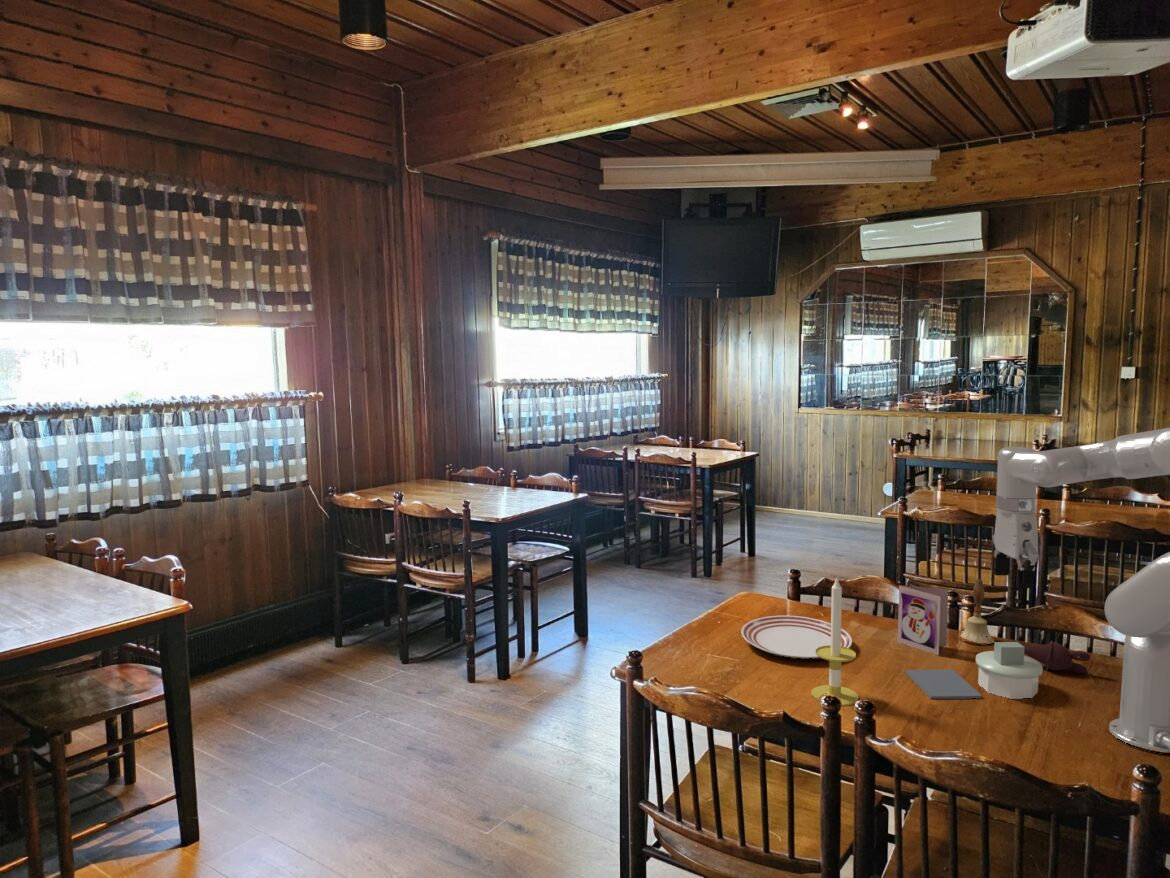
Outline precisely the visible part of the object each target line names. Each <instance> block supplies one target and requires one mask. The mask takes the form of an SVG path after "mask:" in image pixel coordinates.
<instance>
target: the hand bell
mask: <svg viewBox="0 0 1170 878" xmlns="http://www.w3.org/2000/svg"><path fill="white" fill-rule="evenodd" d="M972 589H973V590H972V596H973V601H974V605H975V604H976V607H975V606H974V609H973V610H974V611H973V616H971V617H968V618H967V621H966V626H965V629H964V630H963V632H961V633H960V634H961V635H960V634H959V635H960V636H961V637H962V638H964V639H967V640H969V641H973V642H977V643H987V644H991V643H995V639H994V638H993V637H992V635H991V634H990V632H989V629H988V621H987V620H986V619H985V618H983V617H982V602H983V601H984V597H985V587H984V584H983V579H979V578H978V579H976V581H975V584H974V586H973V588H972ZM981 635H982V636H981ZM986 636H988V637H986ZM992 638H993V639H992Z"/></svg>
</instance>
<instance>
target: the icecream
mask: <svg viewBox="0 0 1170 878" xmlns="http://www.w3.org/2000/svg"><path fill="white" fill-rule="evenodd" d="M1023 646H1024V647H1025V648H1024V655H1025V656H1027V657H1030V658H1032V659H1034V660H1036V661H1038V662H1039V663H1040V664H1041V665H1044V666H1045V670H1046V671H1049V670H1051V671H1057V672H1058V671H1063V670H1066V669H1069V670H1070V671H1072V672H1074V673H1077V674H1080V673H1082V674H1081V675H1085V674H1087V673H1088V669H1087V666H1084V665H1083V664H1080V663H1076V662H1074V661H1073V660H1075V661H1077V662H1088V661H1090V660H1091V655H1090V654H1089V652H1087V651H1082V650H1078V651H1069V650H1070V649H1068V648H1067V647H1066V646H1064V645H1063V644H1060V643H1059V642H1054V641H1053V640H1050V642H1048V643H1047V644H1046V643H1045V644H1031V645H1030V644H1029V645H1023Z"/></svg>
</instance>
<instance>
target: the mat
mask: <svg viewBox="0 0 1170 878" xmlns="http://www.w3.org/2000/svg"><path fill="white" fill-rule="evenodd" d="M904 672H905V674H906V673H907V674H908V675H907V674H906V675H907V676H908V677H909V678H910V679H911V680H912V681H913V682H914V683H915V685H917V686H918V688H919V689H921V691H922V692H923V693H924V694H926V696H927V697H928V698H929V699H930V700H950V699H951V700H953V699H954V700H957V699H959V700H961V699H962V700H963V699H965V700H966V699H969V700H970V699H972V698H976V699H983V695H982V694H981V692H979V691H977V690H976V689H975V688H974V687H973V686H972V685H971V684H969V683H968V682H967V681H966V680H965V679H964V678H963V677H962V676H961V675H960V674H959V673H957V671H955V669H905V671H904Z"/></svg>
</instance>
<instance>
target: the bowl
mask: <svg viewBox="0 0 1170 878" xmlns="http://www.w3.org/2000/svg"><path fill="white" fill-rule="evenodd" d="M977 681H978V682H977V685H978V684H979V686H980V687H981V688H982V687H983V688H984V689H985V690H986V691H987V692H986V691H985V690H984V689H983V688H982V689H983V690H984V691H985V692H986V693H988V694H991V693H992V694H991V695H994V694H995V696H999V697H1001V696H1002V698H1005V697H1006V698H1005V699H1008V698H1009V700H1024V699H1023V698H1031V699H1033V698H1034V696H1036V694H1038V691H1039V676H1038V677H1035V678H1029V679H1018V678H1009V677H1003V676H999V675H995V674H992V673H990V672H987V671H985V670H983V669H981V668H980V667H979V666H978V677H977Z"/></svg>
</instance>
